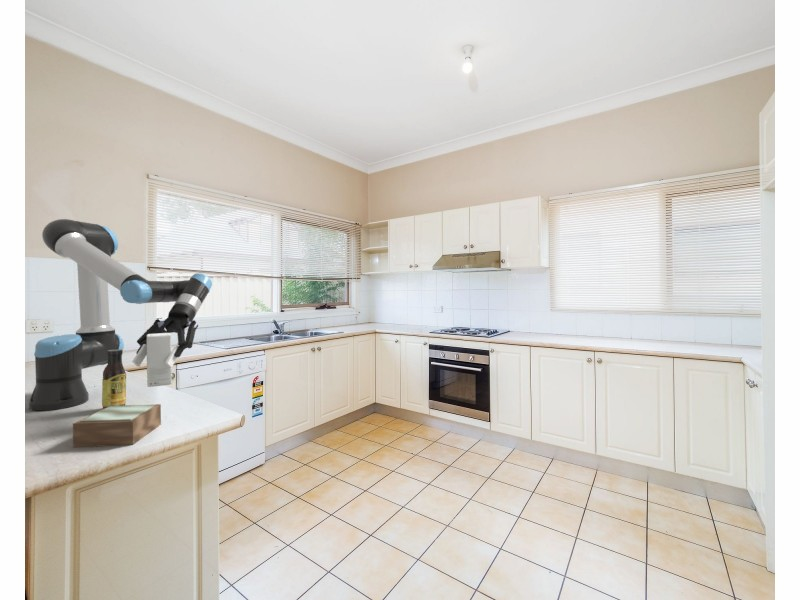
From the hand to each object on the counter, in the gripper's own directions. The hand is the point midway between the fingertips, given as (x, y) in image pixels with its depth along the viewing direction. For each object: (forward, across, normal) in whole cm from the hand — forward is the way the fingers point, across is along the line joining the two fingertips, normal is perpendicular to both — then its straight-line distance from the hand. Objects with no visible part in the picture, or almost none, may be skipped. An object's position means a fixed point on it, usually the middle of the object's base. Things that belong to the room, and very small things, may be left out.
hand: (152, 364), depth 111 cm
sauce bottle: (+6, +19, -19) cm, 28 cm away
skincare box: (+3, 0, -7) cm, 7 cm away
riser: (+20, +1, -4) cm, 21 cm away
